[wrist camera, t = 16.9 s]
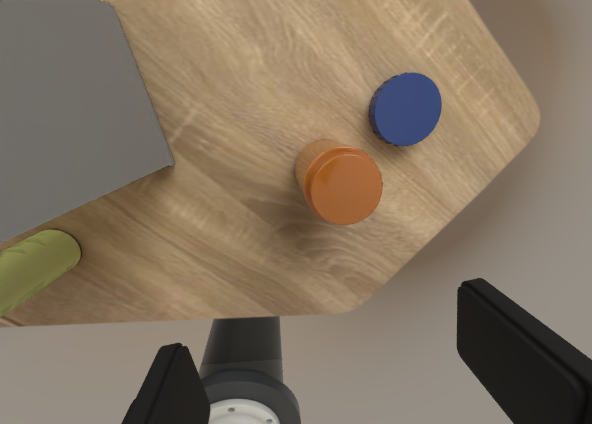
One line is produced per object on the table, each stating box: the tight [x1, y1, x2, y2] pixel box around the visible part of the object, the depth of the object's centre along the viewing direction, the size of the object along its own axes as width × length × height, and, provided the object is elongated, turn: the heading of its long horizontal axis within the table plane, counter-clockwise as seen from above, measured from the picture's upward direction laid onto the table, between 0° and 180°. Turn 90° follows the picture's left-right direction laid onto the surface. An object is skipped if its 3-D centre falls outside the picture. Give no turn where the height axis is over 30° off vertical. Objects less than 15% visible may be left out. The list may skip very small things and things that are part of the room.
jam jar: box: [295, 139, 383, 225], centre depth 26 cm, size 6×6×10 cm
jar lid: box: [369, 73, 441, 146], centre depth 28 cm, size 7×7×2 cm
